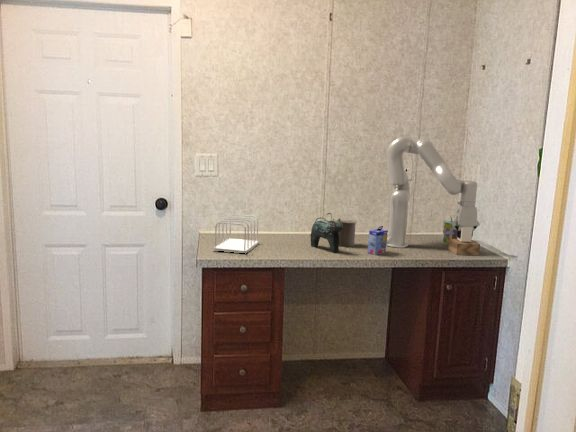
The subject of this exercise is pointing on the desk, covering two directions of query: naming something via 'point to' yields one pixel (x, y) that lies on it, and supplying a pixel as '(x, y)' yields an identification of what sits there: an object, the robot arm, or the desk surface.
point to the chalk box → (449, 231)
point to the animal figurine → (327, 233)
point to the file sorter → (236, 244)
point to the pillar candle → (347, 233)
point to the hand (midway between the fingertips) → (464, 237)
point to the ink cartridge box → (377, 241)
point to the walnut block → (464, 247)
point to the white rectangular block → (466, 233)
